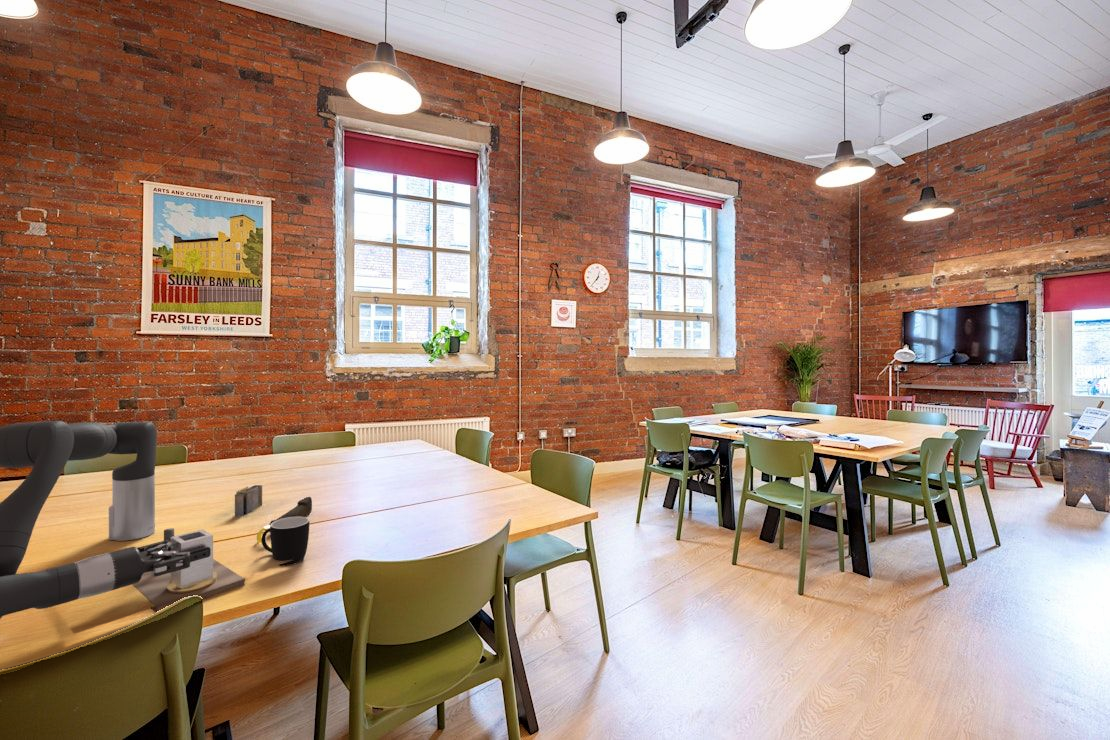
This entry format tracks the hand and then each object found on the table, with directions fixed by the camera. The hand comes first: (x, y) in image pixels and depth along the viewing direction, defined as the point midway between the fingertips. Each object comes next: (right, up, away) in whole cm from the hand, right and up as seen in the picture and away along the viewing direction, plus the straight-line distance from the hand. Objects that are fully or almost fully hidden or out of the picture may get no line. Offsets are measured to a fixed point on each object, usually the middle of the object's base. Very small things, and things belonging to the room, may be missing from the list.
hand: (202, 546), depth 108 cm
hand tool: (-3, -9, +43) cm, 44 cm away
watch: (+1, -9, +23) cm, 24 cm away
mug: (+10, -10, +15) cm, 21 cm away
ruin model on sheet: (-24, -8, +53) cm, 59 cm away
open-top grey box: (-1, -7, -1) cm, 7 cm away
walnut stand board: (-7, -9, +3) cm, 12 cm away
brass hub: (-1, -8, -1) cm, 8 cm away
